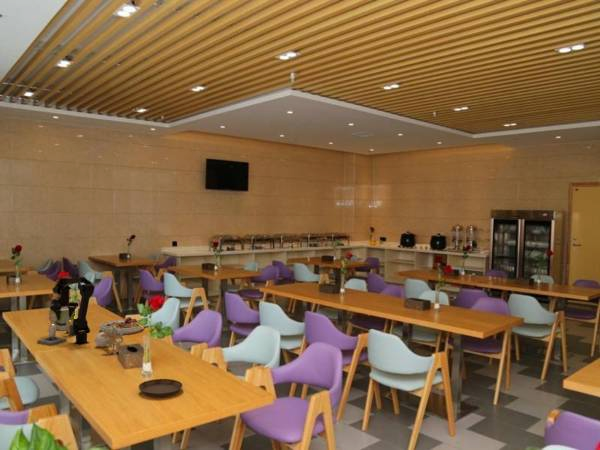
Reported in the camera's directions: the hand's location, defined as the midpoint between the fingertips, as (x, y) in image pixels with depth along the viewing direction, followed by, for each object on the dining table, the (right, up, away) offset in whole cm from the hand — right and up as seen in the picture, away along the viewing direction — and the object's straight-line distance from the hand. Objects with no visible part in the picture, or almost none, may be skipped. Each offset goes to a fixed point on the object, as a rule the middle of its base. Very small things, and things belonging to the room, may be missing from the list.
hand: (64, 318), depth 340 cm
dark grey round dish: (-2, -13, -12) cm, 18 cm away
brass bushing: (-3, -13, +14) cm, 19 cm away
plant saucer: (+91, -18, -95) cm, 132 cm away
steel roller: (-2, -13, -12) cm, 18 cm away
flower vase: (+39, -15, -25) cm, 49 cm away
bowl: (+29, -14, +27) cm, 42 cm away
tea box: (-10, -12, +28) cm, 33 cm away
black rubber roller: (+2, -13, +9) cm, 16 cm away
